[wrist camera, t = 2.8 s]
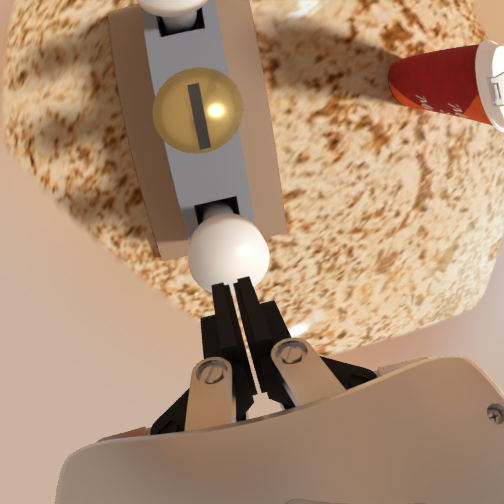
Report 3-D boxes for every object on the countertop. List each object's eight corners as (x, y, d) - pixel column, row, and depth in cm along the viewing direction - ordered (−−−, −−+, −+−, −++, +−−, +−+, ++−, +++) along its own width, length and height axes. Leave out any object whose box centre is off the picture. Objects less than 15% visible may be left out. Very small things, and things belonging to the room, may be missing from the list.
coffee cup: (393, 124, 27) (500, 145, 14) (369, 56, 24) (477, 39, 10) (438, 107, 27) (535, 125, 14) (419, 47, 23) (517, 40, 10)
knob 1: (150, 9, 15) (128, -43, 7) (205, -2, 16) (213, -59, 8) (156, 54, 17) (133, 16, 9) (213, 42, 18) (225, -2, 10)
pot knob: (167, 97, 19) (144, 78, 10) (218, 86, 19) (236, 59, 10) (176, 145, 21) (162, 163, 12) (227, 134, 21) (251, 144, 12)
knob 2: (184, 191, 23) (179, 233, 14) (238, 179, 23) (263, 214, 15) (197, 240, 25) (200, 303, 16) (247, 229, 25) (274, 285, 17)
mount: (110, 16, 17) (88, -9, 11) (244, -11, 19) (259, -43, 13) (163, 257, 29) (156, 294, 23) (284, 229, 31) (307, 259, 24)
